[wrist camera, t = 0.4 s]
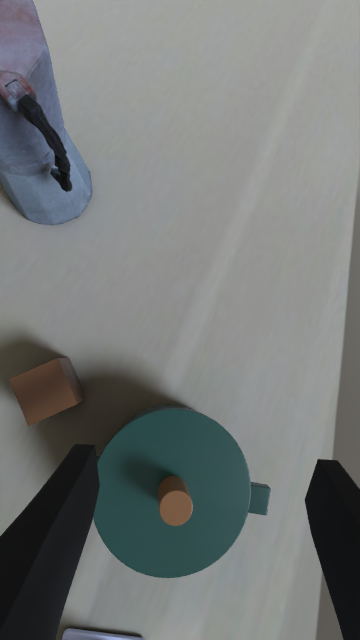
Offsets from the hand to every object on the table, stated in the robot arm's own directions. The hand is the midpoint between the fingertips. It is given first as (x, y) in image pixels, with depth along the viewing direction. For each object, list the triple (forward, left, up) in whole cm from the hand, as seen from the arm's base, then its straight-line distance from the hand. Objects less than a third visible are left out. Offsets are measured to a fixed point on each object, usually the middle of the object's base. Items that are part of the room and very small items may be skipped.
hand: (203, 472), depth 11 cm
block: (-1, +11, -25) cm, 28 cm away
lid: (-7, -2, -19) cm, 21 cm away
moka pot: (+20, +16, -25) cm, 36 cm away
